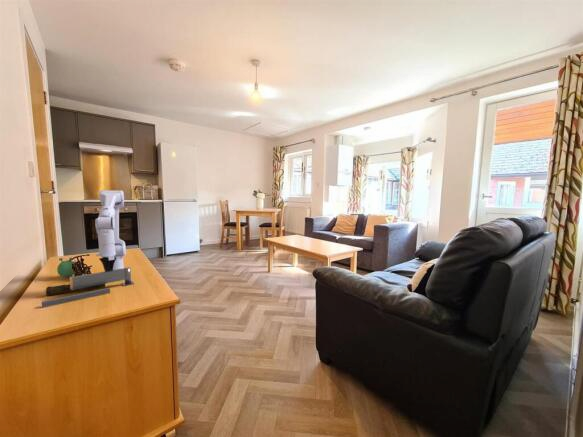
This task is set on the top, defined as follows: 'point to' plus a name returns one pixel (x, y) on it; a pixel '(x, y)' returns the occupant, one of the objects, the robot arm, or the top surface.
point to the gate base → (128, 284)
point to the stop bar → (75, 297)
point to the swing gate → (100, 278)
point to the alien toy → (65, 268)
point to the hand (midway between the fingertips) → (108, 273)
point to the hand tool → (68, 289)
